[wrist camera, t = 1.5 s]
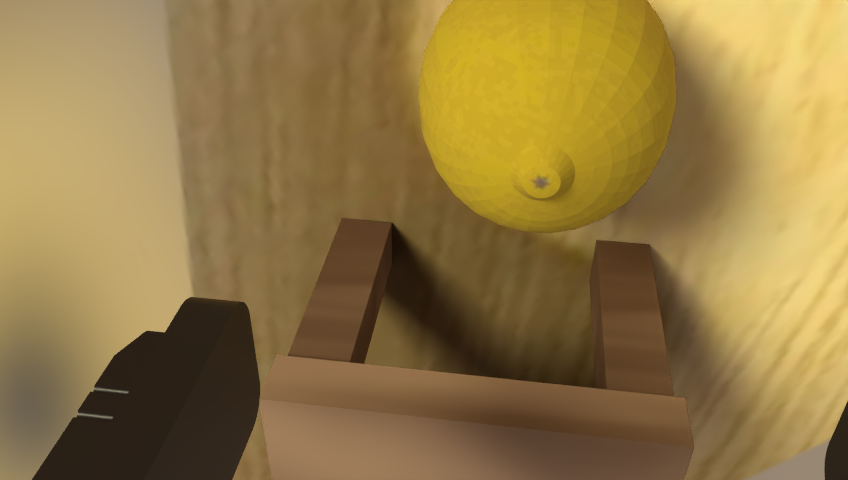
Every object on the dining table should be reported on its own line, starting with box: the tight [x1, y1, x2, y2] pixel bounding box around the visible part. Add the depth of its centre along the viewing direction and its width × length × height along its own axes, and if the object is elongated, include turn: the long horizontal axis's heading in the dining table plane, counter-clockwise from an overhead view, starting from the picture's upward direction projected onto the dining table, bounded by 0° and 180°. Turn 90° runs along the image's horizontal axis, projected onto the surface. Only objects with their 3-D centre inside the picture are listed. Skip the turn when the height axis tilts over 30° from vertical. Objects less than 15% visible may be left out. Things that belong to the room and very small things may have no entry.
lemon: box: [418, 0, 676, 233], centre depth 17 cm, size 6×6×8 cm
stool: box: [259, 218, 694, 480], centre depth 24 cm, size 10×10×8 cm
